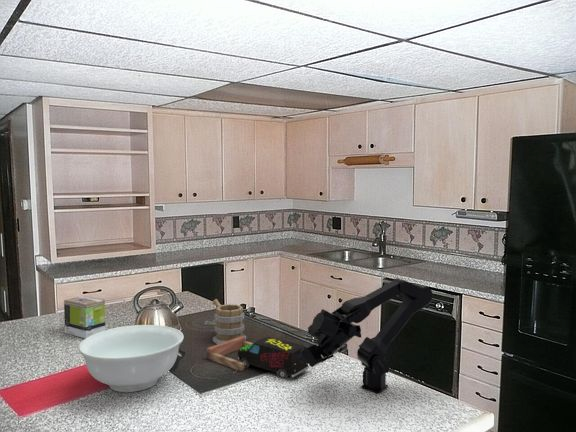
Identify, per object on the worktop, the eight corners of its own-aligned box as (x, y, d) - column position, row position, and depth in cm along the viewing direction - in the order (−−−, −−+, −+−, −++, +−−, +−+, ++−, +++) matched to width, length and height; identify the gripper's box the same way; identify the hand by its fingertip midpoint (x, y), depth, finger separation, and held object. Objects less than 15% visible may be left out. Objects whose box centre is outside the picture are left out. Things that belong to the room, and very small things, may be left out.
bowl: (79, 371, 165) (78, 330, 163) (174, 358, 177) (174, 319, 176) (79, 414, 135) (78, 364, 134) (193, 394, 148) (193, 348, 147)
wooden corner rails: (275, 356, 179) (275, 346, 179) (241, 371, 165) (241, 360, 165) (241, 345, 191) (241, 335, 190) (206, 358, 177) (206, 348, 177)
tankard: (250, 342, 195) (250, 306, 194) (222, 348, 188) (222, 310, 187) (228, 329, 211) (228, 295, 210) (201, 334, 204) (201, 299, 203)
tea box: (106, 333, 205) (105, 299, 204) (85, 339, 196) (84, 304, 195) (84, 327, 213) (84, 294, 212) (63, 333, 204) (62, 299, 203)
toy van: (254, 356, 180) (254, 330, 179) (310, 371, 166) (310, 343, 165) (236, 365, 171) (236, 338, 171) (293, 382, 157) (293, 353, 156)
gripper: (340, 309, 159) (313, 334, 167) (306, 322, 145) (278, 349, 153) (360, 337, 155) (331, 362, 163) (327, 353, 141) (297, 379, 149)
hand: (310, 362), depth 157 cm, fingers closed
